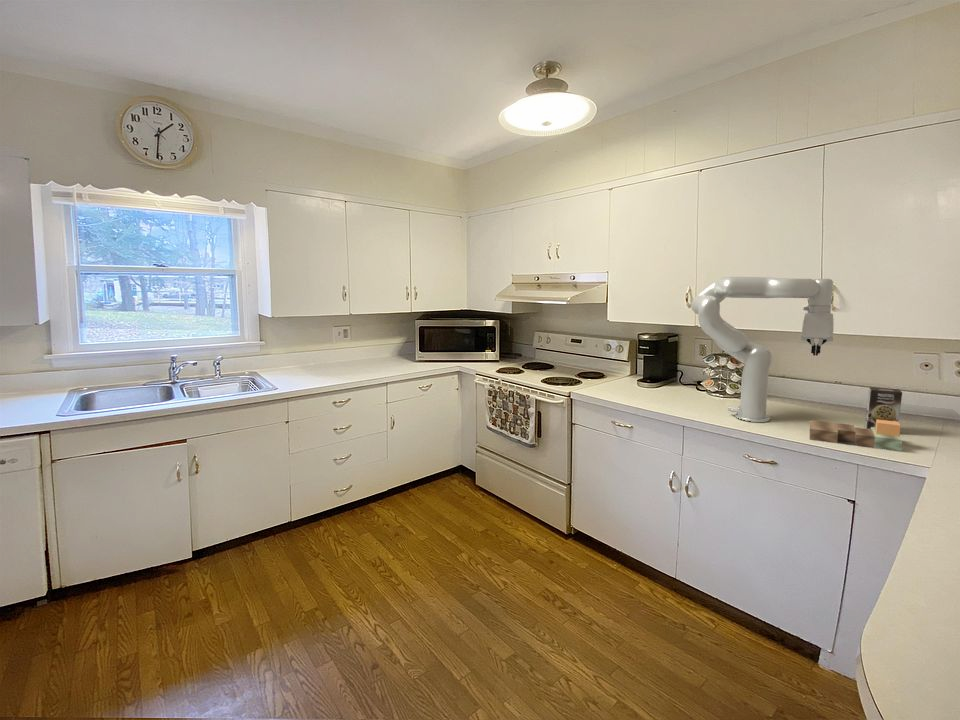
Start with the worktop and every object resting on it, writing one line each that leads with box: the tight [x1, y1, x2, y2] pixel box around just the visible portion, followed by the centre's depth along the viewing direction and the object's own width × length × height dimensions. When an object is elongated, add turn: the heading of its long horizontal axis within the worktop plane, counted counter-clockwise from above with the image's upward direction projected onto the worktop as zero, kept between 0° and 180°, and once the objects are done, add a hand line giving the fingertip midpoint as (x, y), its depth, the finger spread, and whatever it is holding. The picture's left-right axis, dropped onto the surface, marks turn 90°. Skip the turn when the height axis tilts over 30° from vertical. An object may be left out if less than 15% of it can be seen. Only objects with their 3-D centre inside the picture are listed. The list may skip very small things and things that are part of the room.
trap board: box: [809, 419, 903, 452], centre depth 168 cm, size 25×13×4 cm, turn 55°
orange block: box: [875, 419, 902, 437], centre depth 162 cm, size 6×5×4 cm
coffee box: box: [864, 386, 903, 429], centre depth 176 cm, size 9×6×16 cm
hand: (815, 355), depth 190 cm, fingers closed
